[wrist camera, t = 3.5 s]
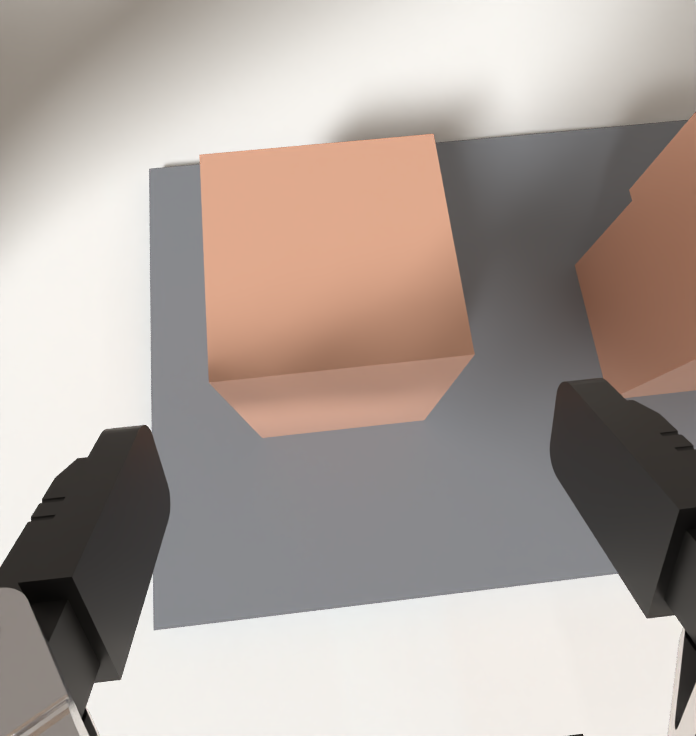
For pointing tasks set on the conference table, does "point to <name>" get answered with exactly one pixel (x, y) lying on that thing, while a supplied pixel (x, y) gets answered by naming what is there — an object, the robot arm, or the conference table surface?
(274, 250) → the peach square prism
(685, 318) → the peach rectangular block
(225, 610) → the mat
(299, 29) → the conference table surface
